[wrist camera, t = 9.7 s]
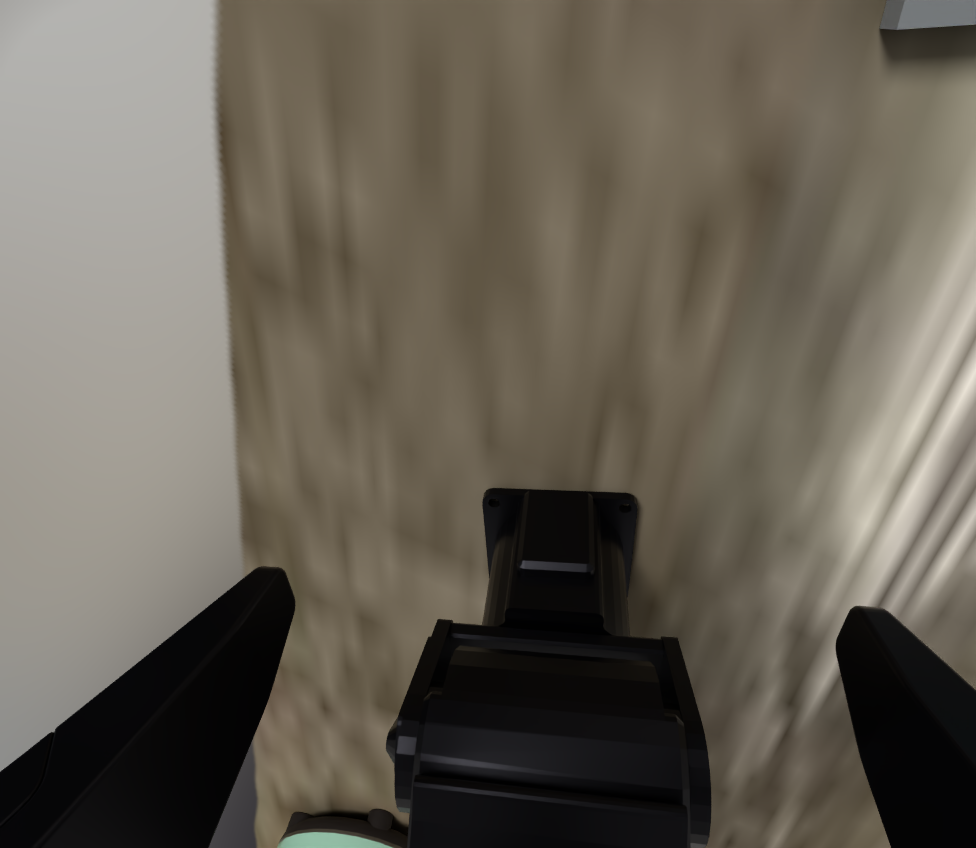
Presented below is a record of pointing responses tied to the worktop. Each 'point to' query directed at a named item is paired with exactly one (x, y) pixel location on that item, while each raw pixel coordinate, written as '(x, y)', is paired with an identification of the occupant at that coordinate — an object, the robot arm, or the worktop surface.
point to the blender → (342, 832)
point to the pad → (928, 13)
